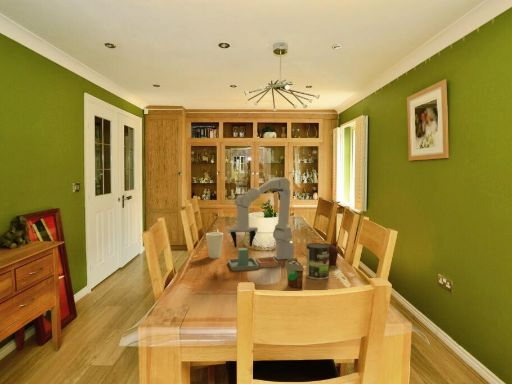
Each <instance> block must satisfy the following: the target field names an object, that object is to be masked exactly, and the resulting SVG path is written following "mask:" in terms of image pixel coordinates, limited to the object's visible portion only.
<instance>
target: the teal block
mask: <svg viewBox="0 0 512 384" xmlns="http://www.w3.org/2000/svg"><path fill="white" fill-rule="evenodd" d="M248 258H249V249H248V248H247V247H241V248H239V247H238V248H237V259H238V265H239V266H248Z"/></svg>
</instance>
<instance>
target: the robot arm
mask: <svg viewBox="0 0 512 384" xmlns="http://www.w3.org/2000/svg"><path fill="white" fill-rule="evenodd" d="M290 187H291V181H290V180H289V179H288V178H287V177H284V176H283V177H276V176H273V177H271V178H268V180H267V181H265V182H264V183H263V184H261V185H260V186H258V187H250V188H249V190H248V191H246V192H243V194H238V195H237V196H236V198H235V200H234V204H235V205H234V206H235V207H236V227H231V228H228V229H227V232H228V233H229V234H230V236H231V238H232V241H233V245H234V246H233V247H234V248H237V246H238V245H237V233H249V234H248V235H249V247H252V246H253V242H254V239H255V236H256V235H257V232H258V231H259V230H258V227H256V226H254V227H253V226H252V227H250V225H249V222H250V221H249V219H250V218H249V208H250V206H251V204H252V203H253V202H254V201H256V200H257V199H259V198H260V197H261V194H263V193H265V192H267V191H269V190H270V189H272V190H274V191H276V192H277V193H278V195H279V208H278V220H277V224H275V226H274V230H273V233H272V237H273V239H274V241H275V255H274V254H273V258H274V259H275V258H276V259H275V260H277V261H278V260H288V259H292V258H295V257H294V256H295V253H294V252H295V249H294V248H295V246H294V242H293V241H292V239H293V232H292V227H291V226H290V224H289V218H290V217H289V216H290V203H291V188H290Z"/></svg>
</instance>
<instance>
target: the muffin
mask: <svg viewBox="0 0 512 384" xmlns="http://www.w3.org/2000/svg"><path fill="white" fill-rule="evenodd" d="M324 244H327V245H329V246H330V247H329V267H330V266H335V265H336V264H337V261H338V256H339V255H338V254H339V249H338V248H337V247H336V246H335V245H333V243H324Z"/></svg>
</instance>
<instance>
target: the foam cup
mask: <svg viewBox="0 0 512 384" xmlns="http://www.w3.org/2000/svg"><path fill="white" fill-rule="evenodd" d="M205 239H206V244H207V246H206V247H207V252H208V257H209V259H219V258H221V256H222V250H223V249H222V248H223V241H224V240H223V239H224V233H223V232H219V231H211V232H206V234H205Z"/></svg>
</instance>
